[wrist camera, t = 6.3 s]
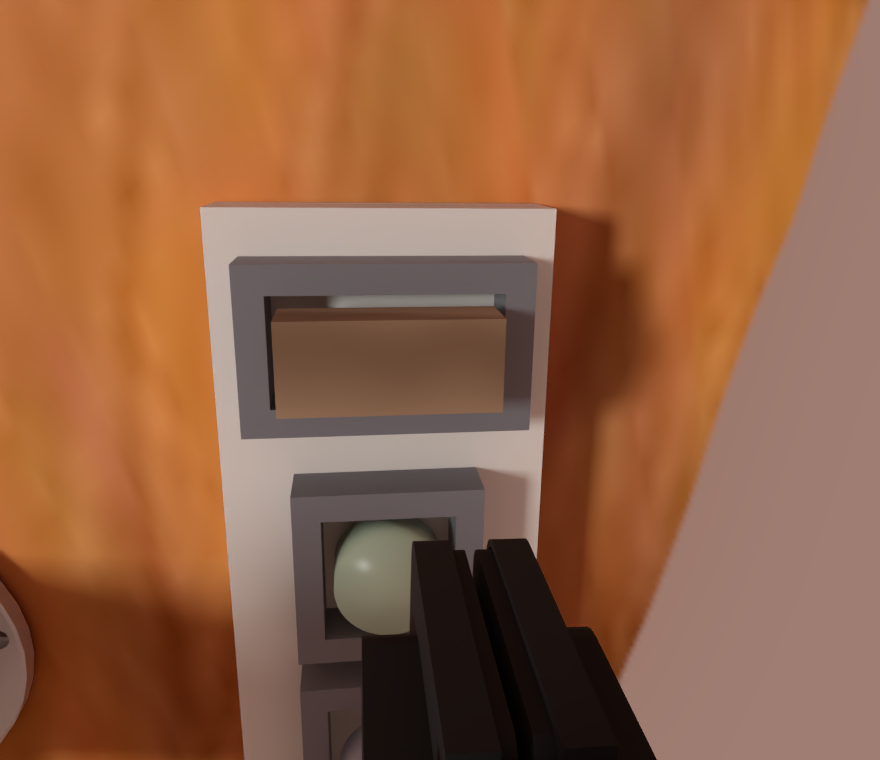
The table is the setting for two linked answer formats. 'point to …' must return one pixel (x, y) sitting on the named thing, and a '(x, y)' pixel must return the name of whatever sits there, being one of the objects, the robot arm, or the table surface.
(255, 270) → the control panel
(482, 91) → the table surface
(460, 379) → the key
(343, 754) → the button bluegrey
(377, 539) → the button sage
